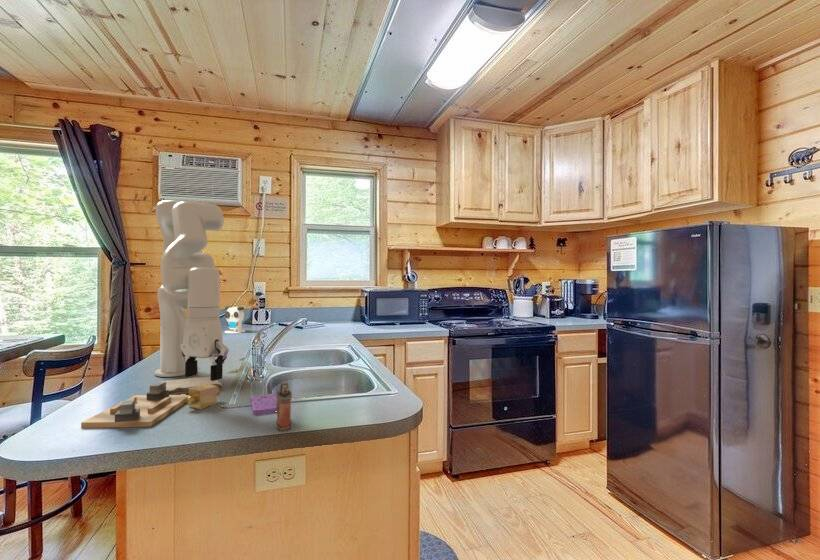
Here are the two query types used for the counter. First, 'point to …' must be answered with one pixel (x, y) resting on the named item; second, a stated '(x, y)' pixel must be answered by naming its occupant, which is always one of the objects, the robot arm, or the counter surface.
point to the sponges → (264, 403)
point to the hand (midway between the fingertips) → (203, 377)
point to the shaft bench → (143, 412)
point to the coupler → (202, 396)
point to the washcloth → (189, 384)
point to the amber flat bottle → (283, 408)
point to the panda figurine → (234, 319)
